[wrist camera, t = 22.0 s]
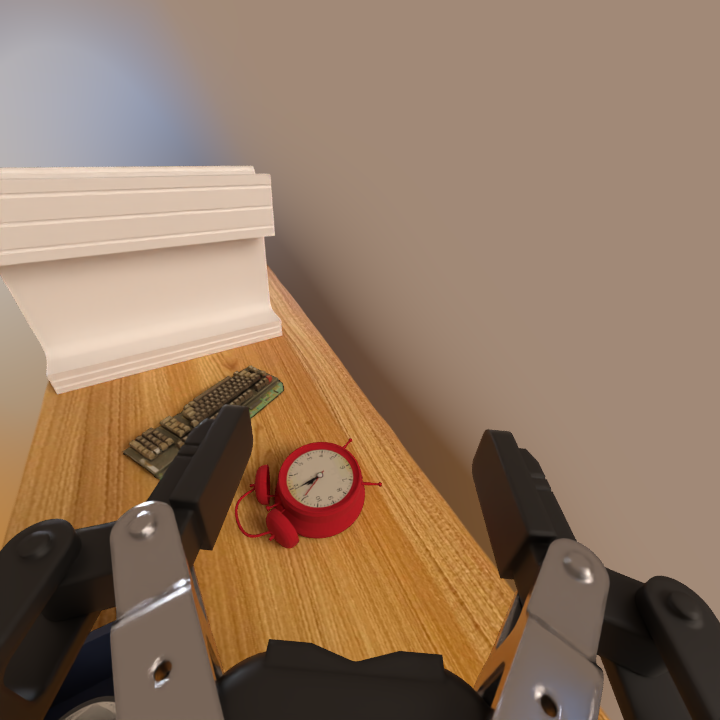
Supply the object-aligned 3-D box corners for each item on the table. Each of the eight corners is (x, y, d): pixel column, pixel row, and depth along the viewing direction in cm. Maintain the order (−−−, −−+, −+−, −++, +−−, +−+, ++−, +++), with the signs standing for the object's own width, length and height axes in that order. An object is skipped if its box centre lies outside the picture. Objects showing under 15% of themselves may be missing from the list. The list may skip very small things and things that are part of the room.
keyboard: (248, 366, 58) (247, 357, 57) (290, 387, 55) (289, 377, 54) (120, 453, 43) (114, 442, 41) (167, 488, 39) (162, 478, 38)
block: (266, 317, 72) (251, 165, 55) (282, 335, 67) (270, 174, 50) (58, 364, 55) (-54, 168, 38) (57, 394, 50) (-73, 181, 33)
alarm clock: (393, 490, 37) (257, 538, 29) (377, 524, 40) (249, 577, 32) (348, 425, 44) (228, 449, 36) (337, 459, 47) (223, 488, 39)
